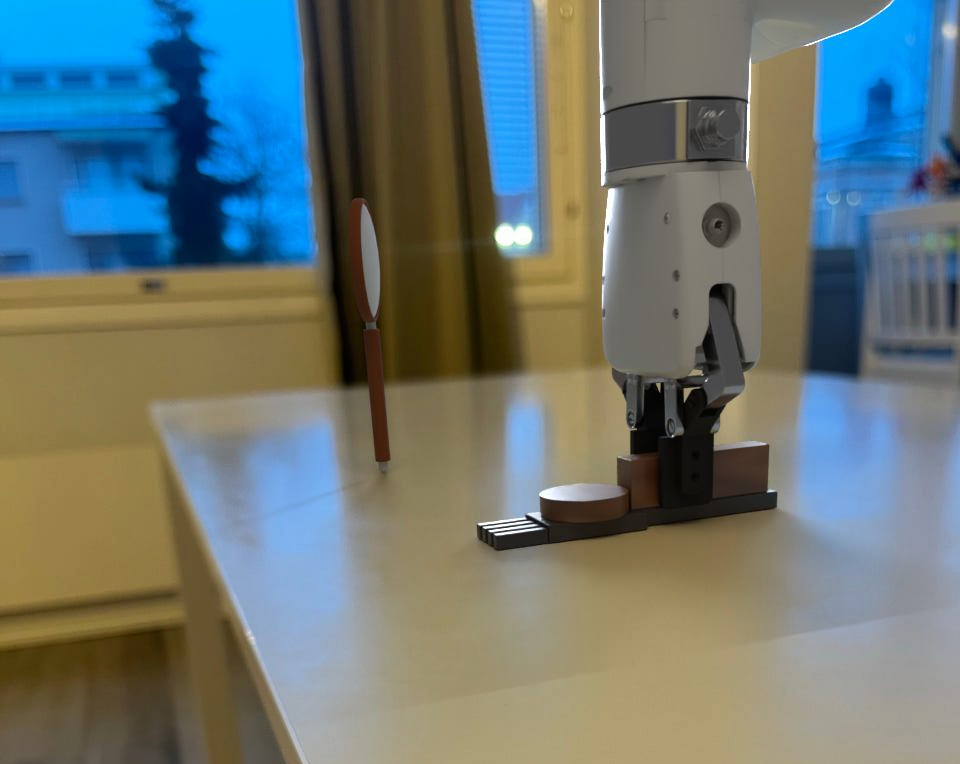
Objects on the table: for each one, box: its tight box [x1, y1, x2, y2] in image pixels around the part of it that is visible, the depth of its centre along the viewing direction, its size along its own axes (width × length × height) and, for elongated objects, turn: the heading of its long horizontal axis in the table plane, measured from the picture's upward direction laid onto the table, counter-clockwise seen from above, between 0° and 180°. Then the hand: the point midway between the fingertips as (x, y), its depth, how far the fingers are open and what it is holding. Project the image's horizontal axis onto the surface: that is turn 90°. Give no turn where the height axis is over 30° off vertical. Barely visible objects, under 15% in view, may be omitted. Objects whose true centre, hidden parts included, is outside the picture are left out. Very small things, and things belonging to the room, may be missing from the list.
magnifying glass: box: [348, 197, 391, 475], centre depth 75 cm, size 9×2×20 cm, turn 177°
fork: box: [476, 488, 778, 551], centre depth 57 cm, size 18×4×1 cm, turn 109°
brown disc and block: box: [539, 440, 770, 523], centre depth 57 cm, size 14×5×3 cm, turn 109°
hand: (670, 497), depth 58 cm, fingers closed
